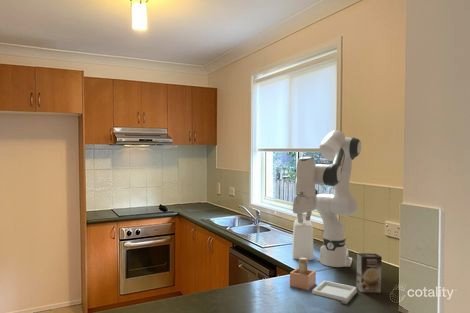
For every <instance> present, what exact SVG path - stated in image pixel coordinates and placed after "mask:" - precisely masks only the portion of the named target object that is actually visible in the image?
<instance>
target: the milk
mask: <svg viewBox="0 0 470 313" xmlns="http://www.w3.org/2000/svg"><path fill="white" fill-rule="evenodd" d="M306 215H307V212H306V213H303V215H302V219H303V223H298V217H297V216H295V220H294V221H293V227H292V228H293V229H292V243H291V244H292V245H291V257H292V259H294V260H299V258H307V259H308V260H309V261H310V260H314V259H315V258H314V257H315V256H314V227H313V223H312V221H311V220H312V219H311V218H310V220H309V221H308V220H306Z"/></svg>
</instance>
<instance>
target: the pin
mask: <svg viewBox="0 0 470 313" xmlns="http://www.w3.org/2000/svg"><path fill="white" fill-rule="evenodd" d="M308 261H309V259H307V258H299V259H298V268H299V274H303V275H307V269H308V265H309V264H308Z"/></svg>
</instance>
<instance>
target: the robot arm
mask: <svg viewBox="0 0 470 313" xmlns="http://www.w3.org/2000/svg"><path fill="white" fill-rule="evenodd" d="M318 151H319V153H320V155H321V156H322V157H323V158H324V159H325V160H327V161H331V162H332V163H331V164H321V163H319V164H318V163H316V161H315V160H316V159H315V158H314V157H313V156H302V157H299V158H298V160H297V163H296V172H295V173H296V174H295V177H296V183H295V196H294V197H293V204H292V213H293V214H295V215H296V217H298V223H303V219H302V215H303V213H307V215H306V220H308V221H309V220H310V219H311V216H312V213H313V212H312V211H315V210H316V212H317V213H318V214H319V215H320V218H321V220H322V222H323V238H322V245H321V246H320V248H319V249H320V250H319V251H320V252H319V258H317V259H316V261H317V262H320V264H322V265H324V266H326V267H327V266H328V267H333V268H342V267H343V268H344V267H348V268H349V267H352V266H351V265H352V262H353V257H349V249H348V248H347V246H346V240H347V239H346V237H345V225H344V223H343V222H342V221H340V220H339V218H338V217H337V215H339V216H353V215H354V214H355V213H356V212H357V210H358V203H357V200H356V198H354V196H353V195H352V193H351V190H350V181H351V173H352V170H353V169H352V168H353V167H352V165H353V160H354V159H355V158H356V157H358V156H359V155H360V153H361V152H362V143H361V140H360V139H359V138H357V137H349V136H348V137H347V136H346V135H345V134H344V132H342V131H341V130H339V129H337V130H335V129H334V130H332V131H330V132H328V134H326V136H325V137H324V138H323V139H322V141H321V143H320V145H319V150H318ZM316 185H321V186H323V185H324V186H330V187H331V188H333V189H334V192H335V193H319V191H318V190H317V188H316ZM318 193H319V194H318Z"/></svg>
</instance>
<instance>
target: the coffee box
mask: <svg viewBox="0 0 470 313" xmlns="http://www.w3.org/2000/svg"><path fill="white" fill-rule="evenodd" d="M356 256H357V257H356V276H355V277H356V281H355V282H356V283H355V287H357V291H359V292H360V293H381V291H382V290H381V288H382V286H381V285H382V261H383V260H382V256H381V255H379V254H377V253H371V252H370V253H365V252H363V253H362V252H357V253H356Z"/></svg>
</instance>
